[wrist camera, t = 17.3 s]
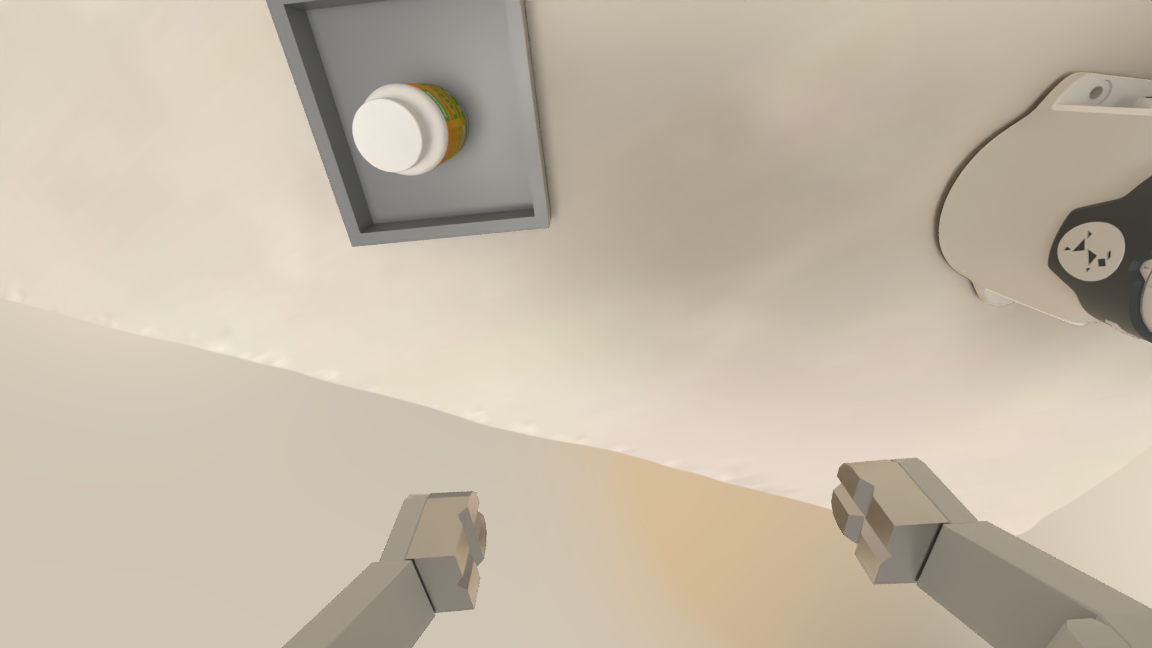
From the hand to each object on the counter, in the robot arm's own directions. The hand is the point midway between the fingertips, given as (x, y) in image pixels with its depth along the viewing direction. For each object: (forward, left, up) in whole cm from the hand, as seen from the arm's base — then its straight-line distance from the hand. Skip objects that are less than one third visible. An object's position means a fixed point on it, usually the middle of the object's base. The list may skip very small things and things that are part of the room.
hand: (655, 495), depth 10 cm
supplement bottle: (+12, -7, -30) cm, 33 cm away
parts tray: (+12, -7, -31) cm, 34 cm away
